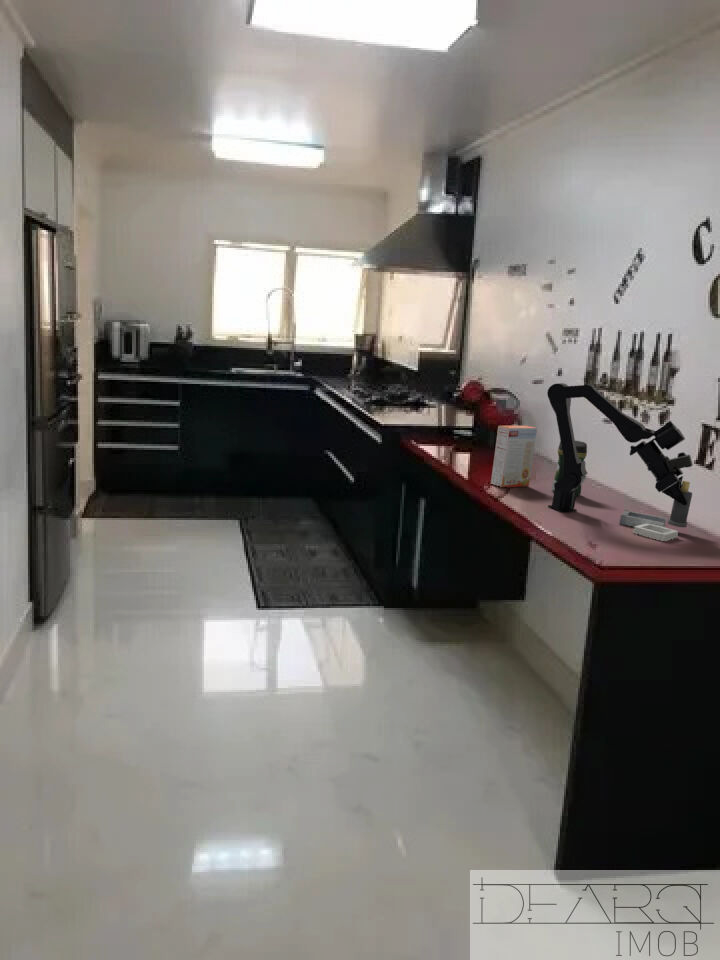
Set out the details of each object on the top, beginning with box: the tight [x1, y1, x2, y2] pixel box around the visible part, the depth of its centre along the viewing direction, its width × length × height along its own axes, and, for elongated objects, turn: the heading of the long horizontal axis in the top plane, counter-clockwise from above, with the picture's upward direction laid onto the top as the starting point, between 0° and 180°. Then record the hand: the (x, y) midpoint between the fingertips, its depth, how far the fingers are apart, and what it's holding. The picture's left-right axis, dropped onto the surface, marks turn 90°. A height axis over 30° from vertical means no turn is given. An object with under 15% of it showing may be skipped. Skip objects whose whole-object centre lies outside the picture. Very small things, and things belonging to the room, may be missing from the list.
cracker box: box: [490, 425, 538, 488], centre depth 275 cm, size 14×6×21 cm, turn 127°
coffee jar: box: [551, 440, 588, 497], centre depth 273 cm, size 10×8×19 cm
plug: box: [667, 480, 693, 528], centre depth 232 cm, size 5×5×13 cm
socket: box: [632, 523, 679, 542], centre depth 226 cm, size 9×9×2 cm
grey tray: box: [619, 509, 667, 528], centre depth 237 cm, size 12×9×3 cm
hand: (686, 503), depth 231 cm, fingers closed on plug, 4 cm apart
